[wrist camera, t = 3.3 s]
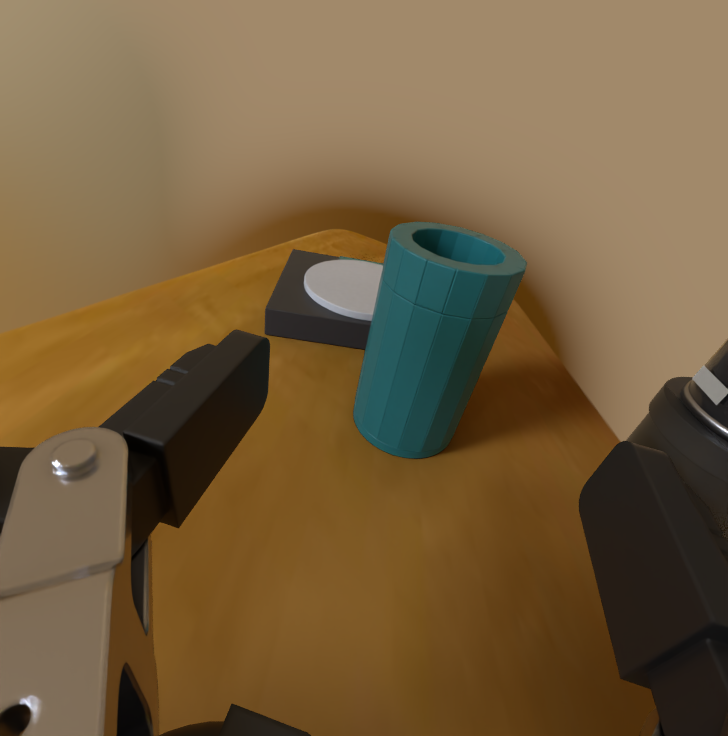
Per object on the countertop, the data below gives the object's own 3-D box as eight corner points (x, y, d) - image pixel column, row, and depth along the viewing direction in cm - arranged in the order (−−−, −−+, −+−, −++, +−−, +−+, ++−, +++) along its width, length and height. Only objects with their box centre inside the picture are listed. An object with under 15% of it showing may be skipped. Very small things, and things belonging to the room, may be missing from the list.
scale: (429, 293, 40) (437, 267, 38) (448, 362, 30) (459, 331, 29) (291, 270, 39) (293, 242, 37) (264, 334, 29) (265, 300, 27)
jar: (444, 393, 27) (505, 235, 21) (460, 465, 22) (547, 285, 16) (355, 380, 26) (388, 213, 20) (350, 451, 21) (394, 258, 15)
